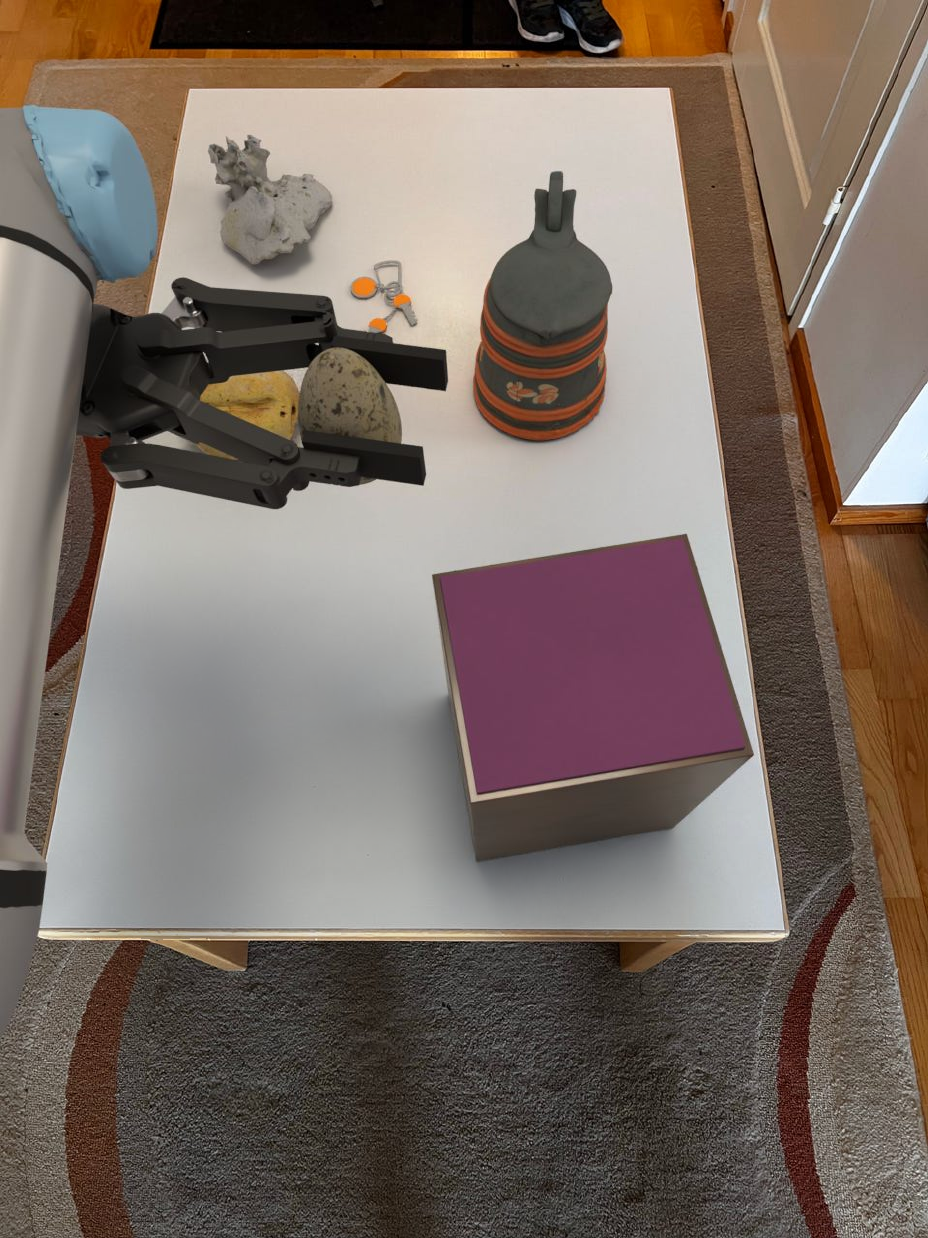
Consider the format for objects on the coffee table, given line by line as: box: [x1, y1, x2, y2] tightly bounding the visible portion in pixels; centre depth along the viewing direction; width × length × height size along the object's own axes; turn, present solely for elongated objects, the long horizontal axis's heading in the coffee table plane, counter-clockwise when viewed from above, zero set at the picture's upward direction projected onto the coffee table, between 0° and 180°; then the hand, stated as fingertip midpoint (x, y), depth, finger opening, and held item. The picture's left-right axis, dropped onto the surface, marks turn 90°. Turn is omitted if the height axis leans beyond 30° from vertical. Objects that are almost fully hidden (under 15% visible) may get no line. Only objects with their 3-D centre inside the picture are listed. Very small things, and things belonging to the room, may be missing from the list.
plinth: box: [431, 533, 755, 863], centre depth 69 cm, size 18×16×26 cm
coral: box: [207, 134, 333, 265], centre depth 104 cm, size 17×14×10 cm
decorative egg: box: [297, 348, 403, 486], centre depth 50 cm, size 6×6×10 cm
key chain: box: [349, 260, 418, 333], centre depth 103 cm, size 13×7×1 cm, turn 8°
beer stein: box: [472, 170, 613, 442], centre depth 89 cm, size 19×15×20 cm
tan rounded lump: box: [193, 361, 300, 461], centre depth 92 cm, size 13×10×10 cm
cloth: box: [440, 538, 746, 794], centre depth 57 cm, size 17×15×1 cm
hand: (434, 417), depth 49 cm, fingers closed on decorative egg, 6 cm apart
